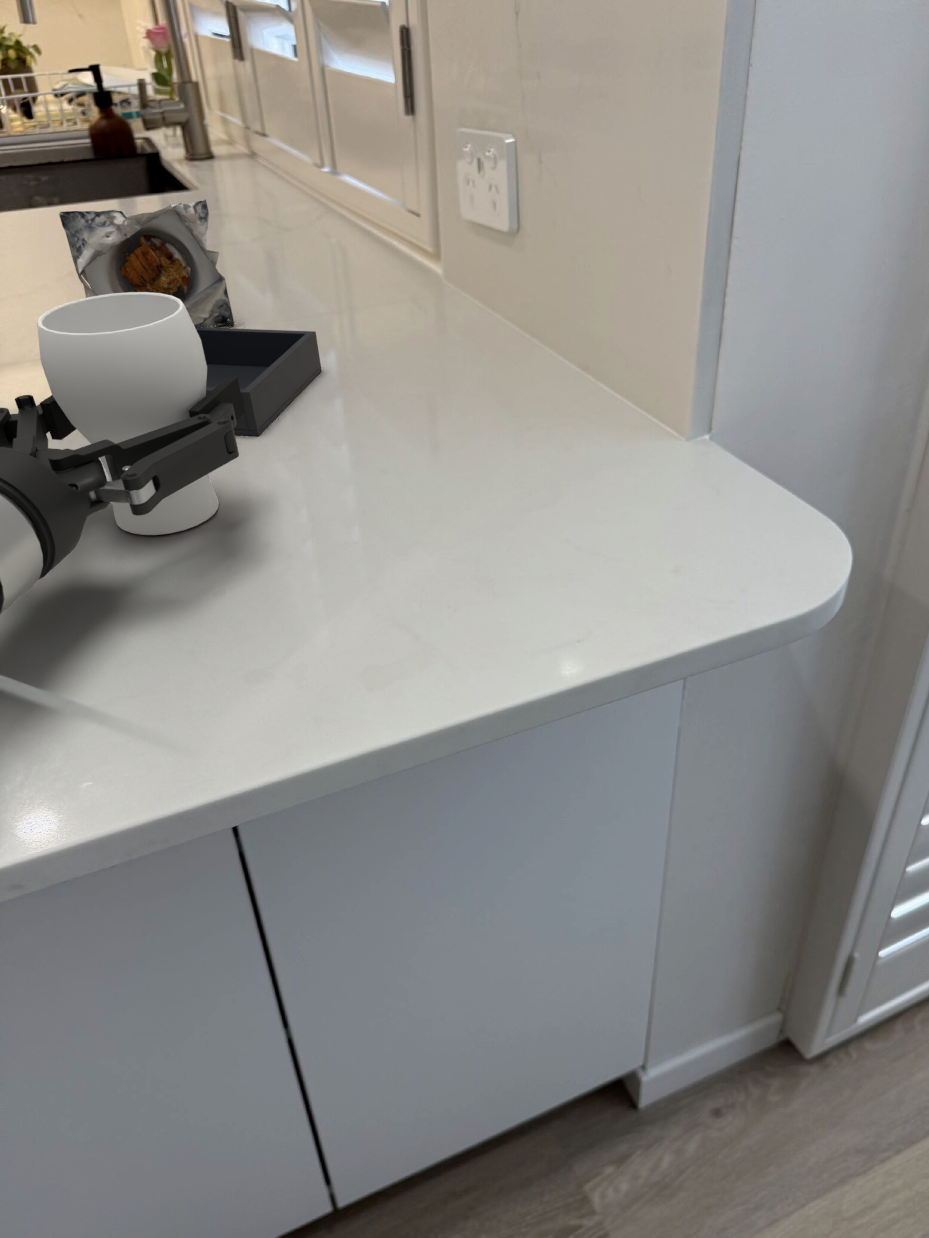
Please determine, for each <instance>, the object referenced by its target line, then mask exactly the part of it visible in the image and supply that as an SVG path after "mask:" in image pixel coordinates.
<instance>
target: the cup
mask: <svg viewBox="0 0 929 1238" xmlns="http://www.w3.org/2000/svg"><path fill="white" fill-rule="evenodd" d="M36 325H37V337H38V349H39V357H40V358H39V360H40V364H41V367H42V369H43V372H44V376H45V378H46V381H47V384H48V387H49V390H50V393H51V395H52V396H53V397H54V399H55V400H56V402H57V403H58V405H59V406H60V407H61V409H62V410H63V412H64V413H65V415H66V416H67V418H68V419H69V421H70V422H71V424H72V425H73V426H74V427H75V428H76V430H77V431H78V432H79V433H80V434H81V435H82V436H83V437H84V439H86V440H87V441H88V442H89V443H90V444H93V443H96V442H99V441H102V440H106V439H107V440H110V441H112V442H114V443H119V442H122V441H125V440H128V439H131V438H134V437H137V436H140V435H142V434H145V433H148V432H151V431H154V430H157V429H160V428H162V427H165V426H168V425H171V424H174V423H177V422H180V421H183V420H185V419H188V418H190V416H189V412H188V411H189V410H190V409H191V408H192V407H193V406H194V405H196V404H197V403H198V402H199V401H200V400H202V399H203V398H204V397H205V396H206V381H207V365H206V360H205V356H204V351H203V347H202V343H201V339H200V337H199V335H198V333H197V331H196V328H195V326H194V324H193V322H192V320H191V318H190V316H189V314H188V312H187V309H186V307H185V305H184V304H183V303H182V301H181V300H180V299H178V298H176V297H174V296H171V295H166V294H161V293H150V292H127V293H114V294H106V295H99V296H93V297H88V298H86V297H84V298H80V299H75V300H72V301H68V302H66V303H62V304H60V305H57V306H55V307H53V308H50V309H48V310H47V311H45V312H43V314H41V315H40V316H39V317H38V319H37V321H36ZM99 459H100V461H101V463H102V466H103V468H104V470H105V473H107V476H108V481H112V478H111V475H110V472H109V469H108V466H107V462H106V459H105V456H103V457H100V458H99ZM111 504H112V510H113V515H114V520H115V523H116V525H117V526H118V527H119V528H120V529H121V530H122V531H125V532H127V533H130V534H135V535H141V536H157V535H168V534H173V533H178V532H182V531H186V530H188V529H191V528H194V527H196V526H198V525H201V524H202V523H204V522H206V521H207V520H209V519H210V518H211V517H213V516H214V515H215V514H216V512H217V511H218V509H219V506H220V505H219V504H220V501H219V498H218V495H217V493H216V490H215V488H214V485H213V483H212V481H211V479H210V476H209V474H207V475H205V476H203V477H202V478H200V479H198V480H196V481H194V482H193V483H191V484H189V485H187V486H185V487H184V488H182V489H180V490H178V491H177V492H175V493H173V494H171V495H169V496H168V497H166V498H164V499H163V500H162V501H161V502H160V503H159V504H158V505H157V506H156V507H155V508H154V509H153V510H152V511H151V512H149V513H148V514H145V515H138V516H137V515H133V514H132V511H131V508H130V505H129V503H119V502H111Z"/></svg>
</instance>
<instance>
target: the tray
mask: <svg viewBox="0 0 929 1238" xmlns="http://www.w3.org/2000/svg"><path fill="white" fill-rule="evenodd" d="M195 328H196V331H197V333H198V335H199V337H200V339H201V343H202V347H203V351H204V356H205V360H206V365H207V381H206V395H207V394H209V393H210V392H211V391H212V390H213V389H215V388H216V387H217V386H218V385H219V384H220V383H222V382H223V381H224V380H225V379H226V378H227V377H238V382H239V387H240V392H241V396H242V401H243V406H244V411H245V413H244V414H243V415H242V416H241V417H240V418H239V419H238V420H237V421H236V422H237V423H236V426H235V427H234V428H233V429H234V434H235V436H251V437H259V436H260V435H261V434H262V433H263V432H264V431H265V430H266V429H267V428H268V427H269V426H270V425H271V424H272V423H273V422H274V421H275V420H276V419H277V418H278V416H280V414H282V412H283V411H285V410H286V408H288V406H289V405H290V404H291V403H292V402H293V401H294V400H295V399H296V398H297V397H298V396H299V395H300V394H301V393H302V392H303V391H304V390H305V389H306V388H307V387H308V386H309V385H310V384H311V383H312V381H314V379H315V378H317V376H318V375H319V374H320V373H321V372H322V366H321V357H320V352H319V351H320V350H319V344H318V338H317V332H316V331H308V330H287V329H283V330H282V329H256V328H254V329H253V328H252V329H251V328H230V327H195Z"/></svg>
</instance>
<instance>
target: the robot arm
mask: <svg viewBox="0 0 929 1238" xmlns="http://www.w3.org/2000/svg"><path fill="white" fill-rule="evenodd" d="M14 401H15V404H16V407H17V411H18V412H17V413H11V412H10V409H9V408H8V407H0V615H1V614H3V613H4V612H6V610H7V609H9V607H11V606H12V605H13V604H14V603H15V602H17V600H19V598H21V597H22V596H23V595H25V593H27V592H28V591H29V590H30V589H31V588H32V587H33V586H34V585H35V584H36V583H37V581H39V580H42V579H43V578H44V577H45V576H47V574H49V573H50V572H51V571H52V570H53V569H54V568H56V566H57V565H59V564H60V563H61V562H62V561H63V560H64V559H65V558H66V557H67V556H68V555H70V554H71V553H72V552H73V551H74V550H75V548H76V547H77V545H78V544H79V541H80V539H81V536H82V532H83V529H84V526H85V523H86V520H87V519H88V517H90V516H91V515H93V514H95V513H98V512H99V511H103V510H104V509H106V508H107V507H108V506H109V505H110V504H111V503H112V502H119V503H129V505H130V508H131V511H132V514H133V515H137V516H138V515H145V514H148V513H149V512H151V511H152V510H153V509H154V508H155V507H156V506H157V505H158V504H159V503H160V502H161V501H162V500H163V499H164V498H166V497H168V496H169V495H171V494H173V493H175V492H177V491H178V490H180V489H182V488H184V487H185V486H187V485H189V484H191V483H193V482H194V481H196V480H198V479H200V478H202V477H203V476H205V475H207V474H208V475H209V474H211V473H213V472H214V471H216V470H217V469H219V468H221V467H223V466H225V465H226V464H228V463H230V462H231V461H234V460H236V459H237V458H239V457H240V452H239V448H238V443H237V438H236V435H235V434H234V429H233V428H234V427H235V426H236V423H237V422H236V421H237V420H238V419H239V418H240V417H241V416H242V415H243V414H244V413H245V411H244V406H243V401H242V396H241V392H240V387H239V382H238V377H227V378H226V379H225V380H224V381H223V382H222V383H220V384H219V385H218V386H217V387H216V388H215V389H213V390H212V391H211V392H210V393H209V394H207V395H206V396H205V397H204V398H203V399H202V400H200V401H199V402H198V403H197V404H196V405H194V406H193V407H192V408H191V409H190V410H189V411H188V412H189V416H190V418H188V419H185V420H183V421H180V422H177V423H174V424H171V425H168V426H165V427H162V428H160V429H157V430H154V431H151V432H148V433H145V434H142V435H140V436H137V437H134V438H131V439H128V440H125V441H122V442H119V443H114V442H112V441H110V440H107V439H106V440H102V441H99V442H96V443H93V444H91V443H90V444H86V445H85V446H81V447H79V448H78V447H77V448H76V449H70V448H63V449H61V448H49V438H48V436H47V434H50V438H51V440H55V441H62V440H64V439H65V438H66V437H68V436H69V435H71V434H72V433H73V432H75V431H76V430H77V429H76V428H75V427H74V426H73V425H72V424H71V422H70V421H69V419H68V418H67V416H66V415H65V413H64V412H63V410H62V409H61V407H60V406H59V405H58V403H57V402H56V400H55V399H54V397H53V396H52V394H51V395H50V396H47V398H45V399H44V400H42V401H40V402H39V404H36V401H35V398H34V396H33V395H32V394H23V395H19V396H17V397H15V398H14ZM103 456H105V459H106V462H107V466H108V469H109V472H110V475H111V478H112V481H109V480H108V479H107V476H106V471H105V468H104V465H103V463H102V461H101V459H100V457H103Z"/></svg>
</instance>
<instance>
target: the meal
mask: <svg viewBox="0 0 929 1238" xmlns="http://www.w3.org/2000/svg"><path fill="white" fill-rule="evenodd" d="M209 215H210V212H209V207H208V202H207V199H206V198H204V199H203V200H197V201H193V202H192V201H191V202H187V203H181V202H180V203H178V204H177V203H176V204H175V203H174V204H173V203H170V204H169V205H167V206H165V207H164V208H161V209H158V210H155V211H150V212H142V213H138V214H137V213H136V214H134V215H130V216H128V212H126V211H123V210H120V209H108V210H101V211H97V210H85V211H84V210H83V211H82V210H70V211H67V210H66V211H59V214H58V216H59V219H60V222H61V225H62V228H63V230H64V232H65V236H66V239H67V244H68V247H69V252H70V255H71V258H72V262H73V265H74V269H75V271H76V274H77V277H78V280H79V281H80V283H81V285H83V290H84V295H85V298H88V297H93V296H99V295H106V294H114V293H127V292H150V293H161V294H166V295H171V296H174V297H176V298H178V299H180V300H181V301H182V303H183V304H184V305H185V307H186V309H187V312H188V314H189V316H190V318H191V320H192V322H193V324H194V326H195V327H205V328H210V327H214V326H232V327H233V326H235V320H234V315H233V311H232V306H231V301H230V297H229V293H228V288H227V283H226V278H225V276H224V275H223V274H221V273H220V272H219V270H218V269H217V264H218V260H219V256H220V252H219V251H215V250H210V249H207V233H208V228H209ZM228 321H229V322H228Z"/></svg>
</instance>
